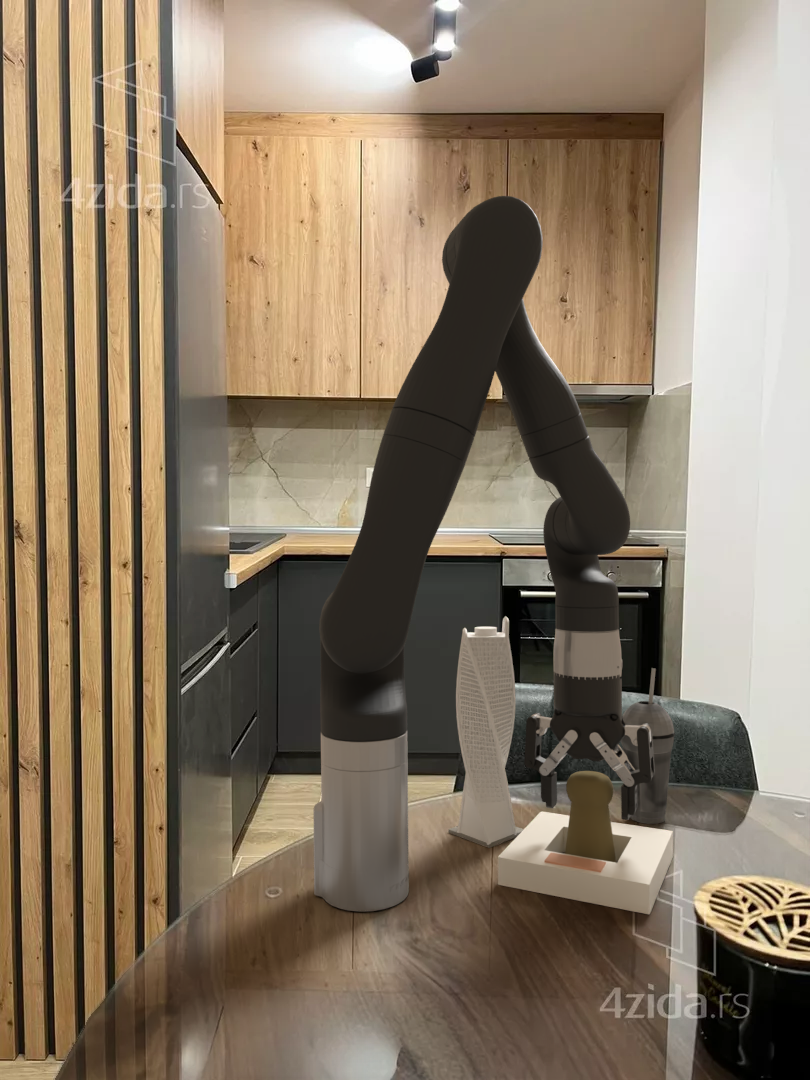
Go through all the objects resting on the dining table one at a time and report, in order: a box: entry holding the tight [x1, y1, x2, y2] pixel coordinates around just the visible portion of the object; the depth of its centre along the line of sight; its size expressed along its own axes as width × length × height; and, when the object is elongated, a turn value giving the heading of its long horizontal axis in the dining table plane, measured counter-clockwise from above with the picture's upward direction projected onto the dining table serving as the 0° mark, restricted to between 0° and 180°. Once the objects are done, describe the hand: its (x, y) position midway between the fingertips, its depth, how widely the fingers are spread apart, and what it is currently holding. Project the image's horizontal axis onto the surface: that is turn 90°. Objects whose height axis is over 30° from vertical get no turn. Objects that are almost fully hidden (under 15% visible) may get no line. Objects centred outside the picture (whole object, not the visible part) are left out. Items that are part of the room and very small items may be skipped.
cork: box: [564, 770, 617, 863], centre depth 90 cm, size 6×6×11 cm
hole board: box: [497, 811, 674, 916], centre depth 90 cm, size 16×16×3 cm
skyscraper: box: [448, 615, 525, 849], centre depth 101 cm, size 8×8×28 cm
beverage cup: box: [620, 667, 676, 825], centre depth 107 cm, size 7×7×20 cm
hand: (588, 811), depth 90 cm, fingers open, 8 cm apart
